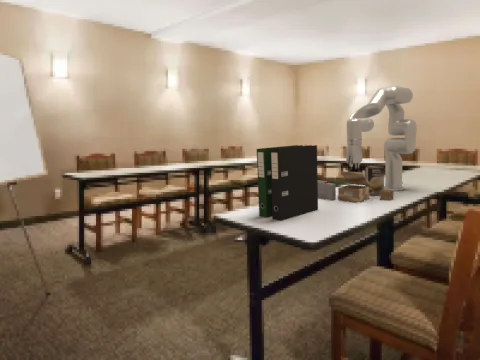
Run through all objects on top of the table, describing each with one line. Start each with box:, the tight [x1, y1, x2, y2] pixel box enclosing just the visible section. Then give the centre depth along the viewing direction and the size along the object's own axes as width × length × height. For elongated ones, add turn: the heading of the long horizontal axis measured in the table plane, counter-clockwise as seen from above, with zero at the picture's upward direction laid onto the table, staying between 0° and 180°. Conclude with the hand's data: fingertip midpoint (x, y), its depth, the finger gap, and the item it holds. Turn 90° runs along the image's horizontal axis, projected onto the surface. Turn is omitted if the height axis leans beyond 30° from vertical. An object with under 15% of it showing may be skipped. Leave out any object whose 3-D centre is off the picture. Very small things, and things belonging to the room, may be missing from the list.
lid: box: [340, 170, 370, 186], centre depth 195 cm, size 12×12×1 cm
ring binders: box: [256, 144, 319, 222], centre depth 170 cm, size 27×15×32 cm, turn 129°
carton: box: [337, 184, 370, 203], centre depth 195 cm, size 12×12×7 cm
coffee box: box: [365, 166, 385, 197], centre depth 205 cm, size 9×6×16 cm
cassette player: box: [318, 180, 337, 201], centre depth 203 cm, size 16×3×10 cm, turn 33°
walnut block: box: [379, 189, 394, 202], centre depth 192 cm, size 5×5×5 cm
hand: (355, 175), depth 195 cm, fingers closed
